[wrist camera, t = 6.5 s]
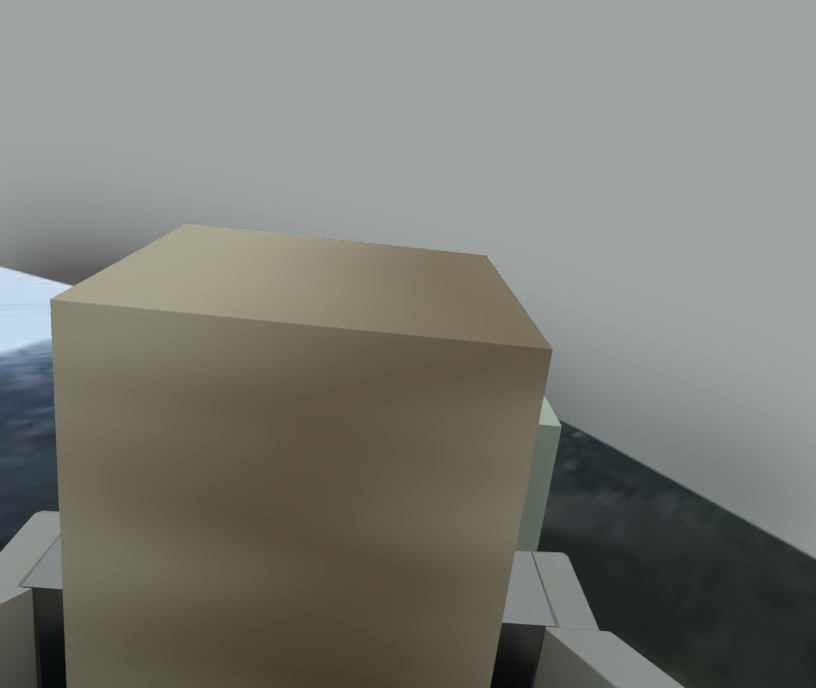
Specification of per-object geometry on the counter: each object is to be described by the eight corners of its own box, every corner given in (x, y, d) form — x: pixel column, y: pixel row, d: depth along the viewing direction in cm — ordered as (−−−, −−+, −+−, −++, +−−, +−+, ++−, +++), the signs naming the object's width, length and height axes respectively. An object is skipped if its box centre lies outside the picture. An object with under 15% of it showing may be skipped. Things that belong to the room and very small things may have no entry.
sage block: (258, 639, 16) (273, 398, 14) (291, 503, 22) (306, 318, 20) (515, 659, 17) (561, 426, 15) (482, 520, 22) (513, 339, 21)
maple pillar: (83, 1097, 9) (50, 299, 6) (176, 795, 12) (187, 223, 9) (412, 1107, 9) (552, 348, 6) (404, 808, 13) (486, 255, 10)
